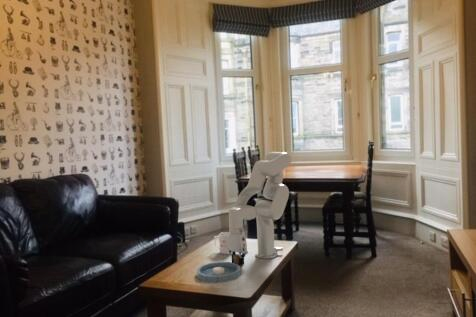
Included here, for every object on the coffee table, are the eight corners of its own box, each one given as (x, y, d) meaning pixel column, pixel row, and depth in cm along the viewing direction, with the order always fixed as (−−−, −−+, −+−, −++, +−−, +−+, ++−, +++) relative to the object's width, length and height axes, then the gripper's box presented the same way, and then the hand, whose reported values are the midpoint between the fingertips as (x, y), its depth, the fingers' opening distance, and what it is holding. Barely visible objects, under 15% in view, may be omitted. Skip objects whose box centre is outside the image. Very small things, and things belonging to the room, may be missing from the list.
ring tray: (233, 264, 218) (233, 259, 218) (244, 278, 197) (244, 273, 197) (194, 270, 212) (194, 264, 212) (201, 284, 192) (201, 279, 192)
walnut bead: (240, 262, 222) (240, 253, 221) (243, 265, 217) (242, 255, 217) (232, 263, 220) (232, 254, 220) (235, 266, 216) (234, 256, 216)
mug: (236, 250, 243) (235, 232, 242) (232, 255, 235) (231, 236, 234) (217, 249, 246) (216, 231, 246) (212, 254, 238) (211, 235, 237)
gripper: (252, 231, 214) (254, 265, 216) (230, 227, 226) (231, 258, 227) (243, 234, 209) (244, 269, 210) (220, 229, 221) (222, 262, 222)
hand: (237, 263), depth 219 cm, fingers open, 4 cm apart
